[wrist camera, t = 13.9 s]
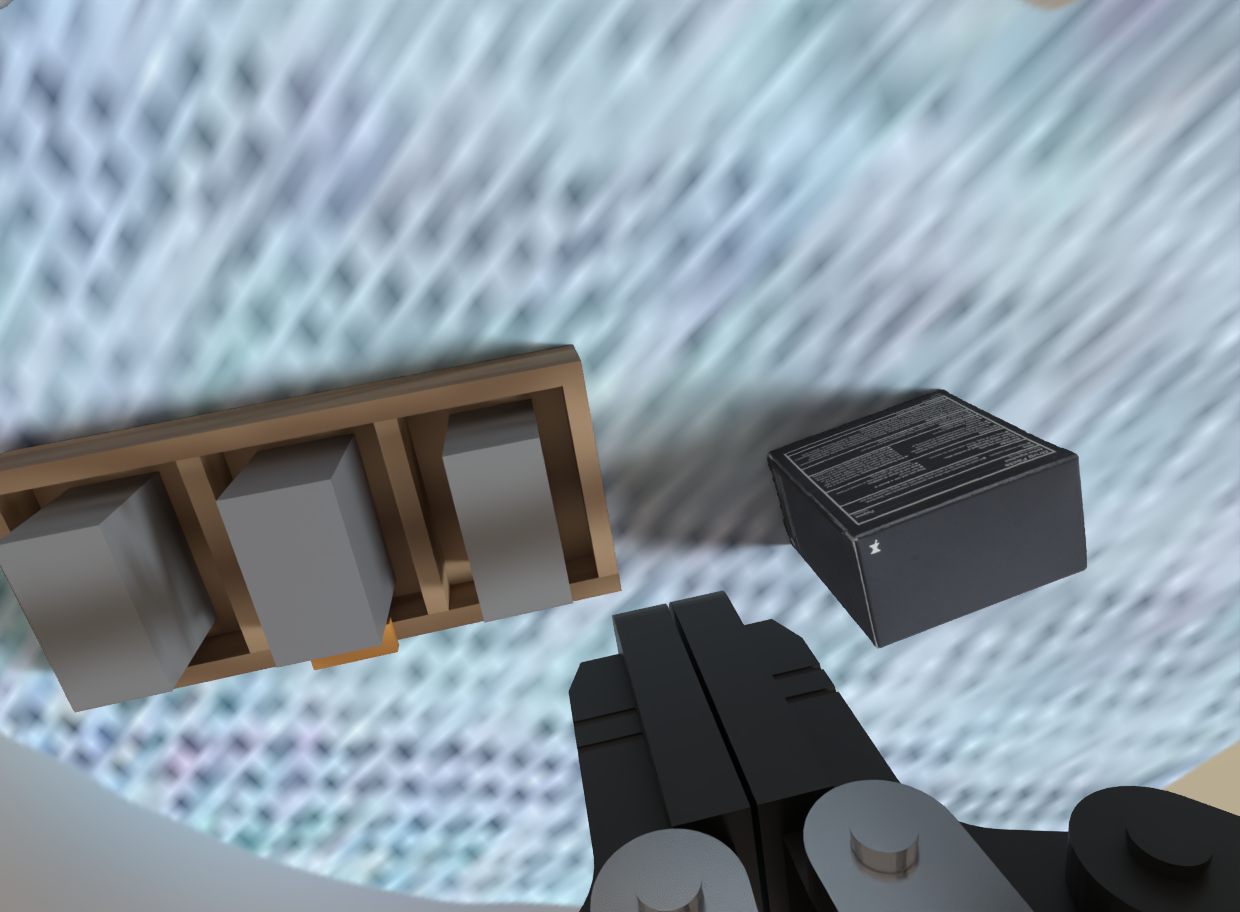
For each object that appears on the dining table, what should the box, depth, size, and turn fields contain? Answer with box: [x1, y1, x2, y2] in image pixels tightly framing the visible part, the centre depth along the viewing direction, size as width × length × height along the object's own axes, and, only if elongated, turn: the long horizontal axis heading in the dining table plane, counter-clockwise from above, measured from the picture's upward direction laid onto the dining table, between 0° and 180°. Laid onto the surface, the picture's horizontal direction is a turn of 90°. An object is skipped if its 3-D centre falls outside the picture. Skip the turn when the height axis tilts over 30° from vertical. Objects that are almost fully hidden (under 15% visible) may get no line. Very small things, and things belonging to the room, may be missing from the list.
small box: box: [767, 390, 1087, 648], centre depth 38 cm, size 11×6×10 cm, turn 108°
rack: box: [0, 345, 622, 712], centre depth 36 cm, size 12×26×7 cm, turn 99°
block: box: [216, 433, 396, 667], centre depth 35 cm, size 8×4×6 cm, turn 9°
